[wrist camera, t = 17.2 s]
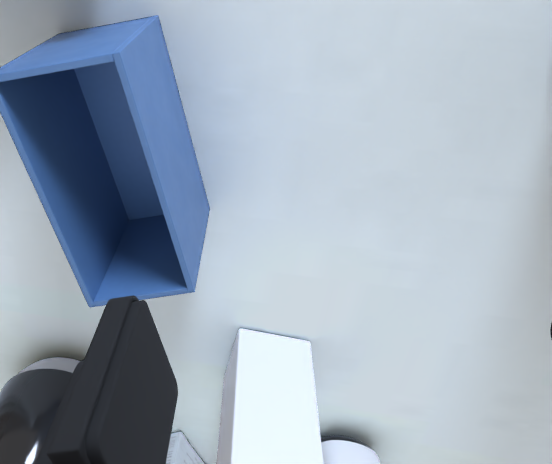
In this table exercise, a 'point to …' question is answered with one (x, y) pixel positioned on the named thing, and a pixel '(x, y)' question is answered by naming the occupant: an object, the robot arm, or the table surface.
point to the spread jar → (347, 451)
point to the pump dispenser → (31, 408)
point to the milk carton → (269, 402)
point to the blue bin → (111, 158)
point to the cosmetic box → (181, 451)
